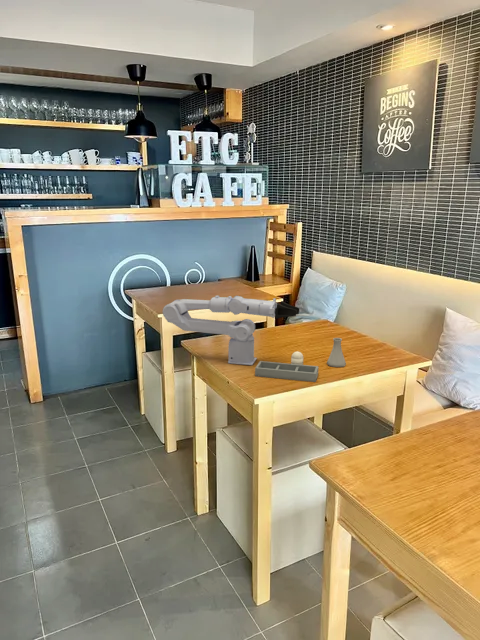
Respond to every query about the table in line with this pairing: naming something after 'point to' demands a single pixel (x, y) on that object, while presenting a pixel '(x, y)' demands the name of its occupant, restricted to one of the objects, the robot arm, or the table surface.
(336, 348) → the flask
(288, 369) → the gray compartment tray
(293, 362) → the beige domed cylinder
